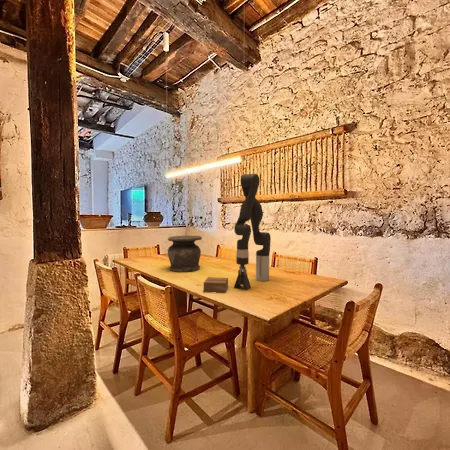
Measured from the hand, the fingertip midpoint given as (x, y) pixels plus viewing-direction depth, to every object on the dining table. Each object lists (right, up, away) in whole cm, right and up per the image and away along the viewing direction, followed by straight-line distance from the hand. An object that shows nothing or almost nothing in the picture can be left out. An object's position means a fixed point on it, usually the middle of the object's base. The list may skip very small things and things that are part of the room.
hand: (242, 282), depth 164 cm
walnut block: (-16, -4, -3) cm, 17 cm away
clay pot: (-44, -1, +54) cm, 70 cm away
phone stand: (0, -3, 0) cm, 3 cm away
